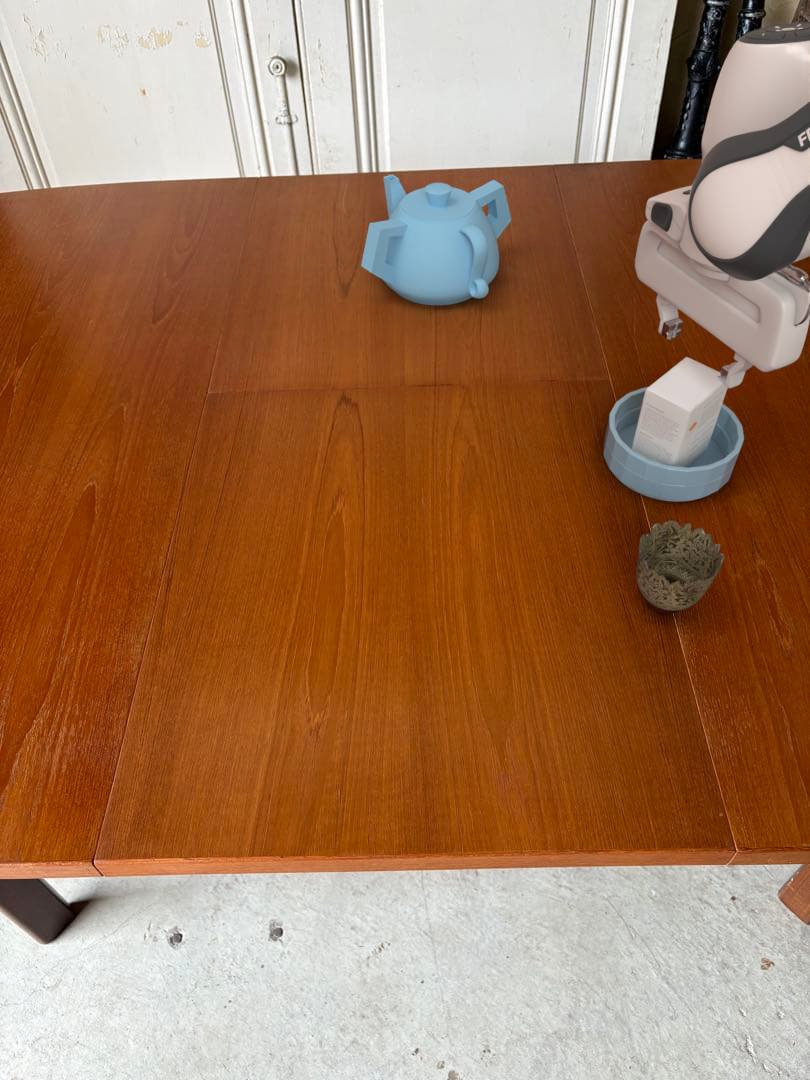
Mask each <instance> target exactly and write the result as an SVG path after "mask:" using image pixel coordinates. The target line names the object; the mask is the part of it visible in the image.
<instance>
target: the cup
mask: <svg viewBox="0 0 810 1080" xmlns="http://www.w3.org/2000/svg"><path fill="white" fill-rule="evenodd" d="M691 526H692V524H691V523H690V522H687V523H685V524H683V525H682V526H681V525H679V523H678V522H677V521H675V520H673V519H670V520H668V521H665V522H664V523H662V524H660V523H658V522H656V523H654V524H653V525H652V527H651V531H650V532H649V533H646V535H645V534H642V535H641V537H640V540H639V543H638V552H637V553H638V554H637V561H636V583H637V587H638V589H639V591H640V593H641V595H642V597H644V599H645V601H646V604H647V606H648V608H650V609H651V610H652V611H653V612H654V613H656V614H659V615H664V616H670V615H674V614H676V613H678V612H679V611H683V610H686V609H688V608H690V607H692V606H694V605H695V604H696V603H698V602H699V601H700V600H701V599H702V597H703V596H704V595H705V594H706V592H707V591H708V589H709V588H710V587H711V584H712V583H713V582H714V580H715V578H716V577H717V575H718V574H719V572H720V571H721V569H722V567H723V562H724V559H725V554H723V553H721V552H720V549H721V544H720V543H716V544H714V541H713V538H712V534H711V533H707V534H706V532H705V530H704V528H702V527H699V528H696V529H694V530H693V531H692V527H691Z"/></svg>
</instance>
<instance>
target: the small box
mask: <svg viewBox="0 0 810 1080" xmlns="http://www.w3.org/2000/svg"><path fill="white" fill-rule="evenodd" d="M720 375H721V374H720V371H719V370H716V369H714V368H711V367H709V366H707V365H705V364H703V363H701V362H699V361H697V360H694V359H693V358H690V357H688V356H685V357H684V358H683V359H682V360H680V361H679V362H678V363H676V364H675V365H674V366H673V367H672V368H670V369H669V370H668V371H667V372H665V373H664V374H662V376H661V377H659V378H658V379H656V380H655V381H654V382H653V383H652V384H650V385H649V386H647V387H648V388H647V389H646V390H645V394H644V398H643V403H642V407H641V411H640V415H639V420H638V424H637V428H636V432H635V437H634V441H633V445H632V451H634V452H636V453H638V454H639V455H641V456H643V457H645V458H646V459H648V460H651V461H654V462H658V463H661V464H664V465H667V466H676V467H688V466H689V465H690V464H691V463H692V462H693V461H694V460H695V459H697V458H698V457H699V456H700V455H701V454H702V453H703V452H704V451H705V450H707V447H708V445H709V442H710V439H711V436H712V433H713V430H714V427H715V424H716V421H717V418H718V415H719V412H720V409H721V406H722V403H723V404H724V400H725V397H726V394H727V391H728V389H729V388H728V387H727V386H726V385H724V384H723V383H722V382H721V381H720V380H719V379H718V378H719V376H720Z"/></svg>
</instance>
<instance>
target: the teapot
mask: <svg viewBox="0 0 810 1080" xmlns="http://www.w3.org/2000/svg"><path fill="white" fill-rule="evenodd" d="M383 184H384V193H385V199H386V207H387V214H388V219H386V220H381V221H375V222H370V223H369V225H368V228H367V229H368V230H367V234H366V239H365V244H364V249H363V254H362V259H361V264H360V267H362V268H363V269H365V270H366V271H368V273H371V274H372V275H374V276H375V277H378V278H379V279H380V280H382V281H383V282H384V284H386V286H388V288H390V289H391V290H392V291H393V292H394V293H395V294H396V295H398V296H399V297H401V298H403V299H404V300H407V301H410V302H412V303H415V304H420V305H425V306H449V305H453V304H454V305H455V304H459V303H462V302H464V301H467V300H470V299H472V298H474V299H484V298H485V297H487V295H488V294H489V290H490V289H489V285H490V283H492V281H493V280H494V279H495V277H496V275H497V274H498V271H499V268H500V250H499V245H498V239H499V238H500V236H501V235H502V233H504V231H505V229H506V228H507V227H508V226H509V224H510V223H511V221H512V215H511V212H510V207H509V203H508V199H507V194H506V191H505V186H504V185H502V183H499V182H498V181H497V180H495V179H492V180H490V181H488V182H486V183H484V184H483V185H481V186H479V187H477V188H474V189H473V190H471V191H470V192H467V191H466V190H463V189H460V188H458V187H453V186H451V185H450V184H449V183H446V182H432V183H429V184H427V185H426V186H425V187H421V188H418V189H415V190H413V191H411V192H409V193H406V191H405V189H404V187H403V185H402V183H401V182H400V178H399V177H397V176H395V175H394V174H393V173H392V174H388V175H386V176H383ZM485 206H487V209H488V214H487V215H486V213H485V212H484V210H483V207H485Z"/></svg>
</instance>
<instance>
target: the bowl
mask: <svg viewBox="0 0 810 1080" xmlns="http://www.w3.org/2000/svg"><path fill="white" fill-rule="evenodd" d="M648 387H649V386H645V387H642V388H639V389H635V390H633V391H630V392H628V393H626V394H625V395H623V396H622V397H621V398H620V399H618V400H617V401H616V402H615V403H614V405H613V407H612V408H611V411H610V412H609V415H608V421H607V425H606V430H605V433H604V438H603V439H604V440H603V452H602V453H603V454H602V455H603V458H604V460H605V463H606V465H607V467H608V469H609V470H610V472H611V473H612V475H614V476H615V478H616V479H617V480H618V481H619V482H621V484H623V485H624V486H625V487H626V488H628V489H630V490H632V491H633V492H636V493H637V494H640V495H641V496H645V497H648V498H650V499H654V500H657V501H658V500H659V501H665V502H674V503H675V502H676V503H677V502H678V503H679V502H691V501H697V500H699V499H702V498H707V497H708V496H710V495H712V494H714V493H717V492H718V491H719V490H720V489H721V488H722V487H724V485H726V484H727V483H729V480H730V478H731V476H732V473H733V470H734V468H735V465H736V462H737V460H738V457H739V454H740V452H741V449H742V447H743V445H744V441H745V436H744V435H745V434H744V428H743V425H742V423H741V421H740V420H739V418H738V416H737V415H736V414H735V412H734V411H733V410H732V409H731V408H729V407H728V406H727V405H726V404H725V403H724V402H723V403H722V406H721V409H720V412H719V415H718V418H717V421H716V424H715V427H714V430H713V433H712V436H711V439H710V442H709V445H708V447H707V450H705V451H704V452H703V453H702V454H701V455H700V456H699V457H698V458H697V459H695V460H694V461H693V462H692V463H691V464H690V465H689V466H688V467H676V466H667V465H664V464H661V463H658V462H654V461H651V460H648V459H646V458H645V457H643V456H641V455H639V454H638V453H636V452H634V451H632V445H633V441H634V437H635V432H636V428H637V424H638V420H639V415H640V411H641V407H642V403H643V398H644V394H645V390H646V389H647V388H648Z"/></svg>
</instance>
